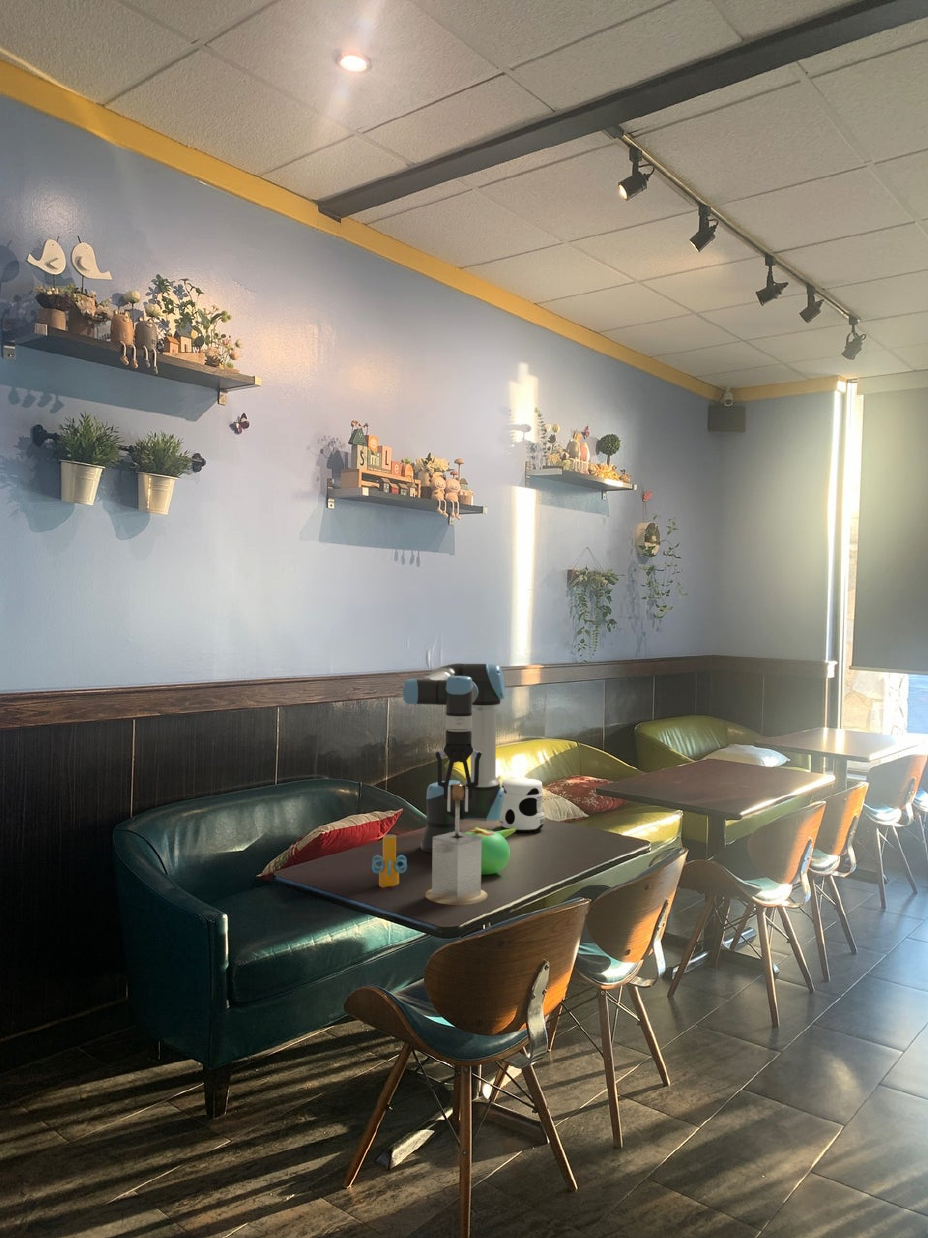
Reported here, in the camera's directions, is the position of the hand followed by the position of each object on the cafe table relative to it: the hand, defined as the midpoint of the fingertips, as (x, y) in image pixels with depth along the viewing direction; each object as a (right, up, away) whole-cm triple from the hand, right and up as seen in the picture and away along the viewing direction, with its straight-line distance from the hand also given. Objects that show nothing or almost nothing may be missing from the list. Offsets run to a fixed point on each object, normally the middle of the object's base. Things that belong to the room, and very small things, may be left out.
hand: (457, 810), depth 272 cm
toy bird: (+8, -25, +26) cm, 37 cm away
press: (0, -24, 0) cm, 25 cm away
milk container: (+24, -25, +84) cm, 91 cm away
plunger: (0, -12, 0) cm, 12 cm away
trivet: (0, -25, 0) cm, 25 cm away
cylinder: (-21, -25, +11) cm, 34 cm away
